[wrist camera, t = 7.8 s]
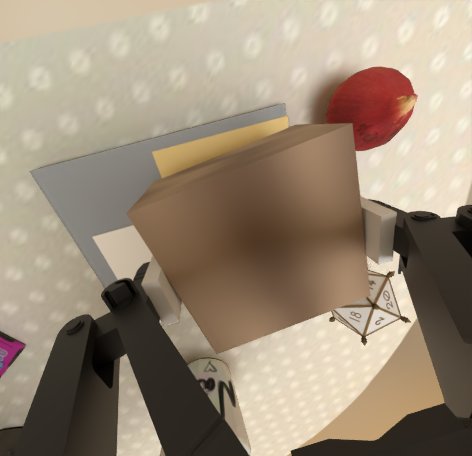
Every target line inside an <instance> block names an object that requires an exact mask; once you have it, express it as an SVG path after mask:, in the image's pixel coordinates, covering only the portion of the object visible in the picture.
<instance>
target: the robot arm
mask: <svg viewBox="0 0 472 456" xmlns="http://www.w3.org/2000/svg"><path fill="white" fill-rule="evenodd" d="M360 200H361V210H362V219H363V229H364V238H365V248H366V255H367V256H368V257H369V258H371V259H372V260H373V261H374V262H376V263H377V264H378V265H379V264H382V263H386V262H389V261H393V250H394V251H395V252H397V253H399V254H400V259H399V268H398V274H401V271H402V272H403V275H404V278H405V281H406V284H407V287H408V290H409V293H410V296H411V299H412V302H413V305H414V308H415V311H416V314H417V317H418V321H419V323H420V327H421V330H422V333H423V336H424V339H425V342H426V345H427V348H428V351H429V354H430V357H431V360H432V363H433V366H434V369H435V372H436V376H437V379H438V382H439V385H440V388H441V391H442V394H443V397H444V401H445V403H444V404H440V405H437V406H434V407H431V408H428V409H424V410H421V411H418V412H415V413H411V414H408V415H406V416H405V417H404V418H403V419H402V420H400V421H399V422H398V423H397V424H396V425H395V426H393V427H392V428H391V429H390V430H389V431H387V432H386V433H385V434H384V435H383V436H382V437H380V438H379V439H377V440H375V441H362V440H341V439H327V440H324V441H321V442H317V443H314V444H311V445H308V446H305V447H302V448H298V449H295V450H291V454H292V456H472V205H465V206H461V207H459V208H458V210H457V214H456V217H446V218H440V216H438V215H437V214H434V213H431V212H426V211H415V212H409V213H407V212H404V211H402V210H399V209H397V208H394V207H391V206H390V205H387V204H385V203H382V202H380V201H376V200H370V199H369V200H368V199H365V198H363V197H361V196H360ZM101 298H102V299H103V300H104V302H105V303H106V305H107V306H108V308H109V309H110V311H111V312H110V313H108V314H106V315H104V316H102V317H100V318H98V319H96V320H94V319H93V318H92V317H91V316H90V315H82V316H79V317H77V318H75V319H72V320H71V321H69V322H68V323H67V324H66V325H65V326H64V327H63V328H62V329H61V330H60V332H59V333H58V335H57V337H56V340H55V343H54V345H53V348H52V351H51V353H50V356H49V359H48V362H47V364H46V367H45V370H44V372H43V375H42V378H41V380H40V383H39V386H38V388H37V391H36V394H35V396H34V399H33V402H32V404H31V407H30V410H29V412H28V415H27V418H26V421H25V423H24V426H23V428H15V429H7V430H2V431H0V456H116V453H117V423H118V394H119V364H120V357H122V356H123V355H125V354H127V356H128V358H129V361H130V364H131V366H132V369H133V372H134V374H135V377H136V379H137V382H138V385H139V387H140V390H141V393H142V395H143V398H144V401H145V403H146V406H147V409H148V411H149V414H150V416H151V419H152V422H153V424H154V427H155V430H156V432H157V435H158V438H159V440H160V443H161V445H162V448H163V451H164V453H165V456H250V455H249V454H248V452H247V451H246V449H245V448H244V447H243V445H242V444H241V442H240V441H239V439H238V438H237V436H236V435H235V433H234V432H233V430H232V429H231V427H230V426H229V424H228V423H227V422H226V420H225V419H224V418H222V416H221V415H220V413H219V412H218V411H217V409H216V408H215V406H214V404H213V403H212V401H211V400H210V398H209V397H208V395H207V394H206V392H205V391H204V389H203V388H202V386H201V385H200V383H199V382H198V380H197V379H196V377H195V376H194V374H193V373H192V371H191V370H190V368H189V367H188V365H187V364H186V362H185V361H184V359H183V358H182V356H181V355H180V353H179V352H178V350H177V349H176V347H175V346H174V344H173V343H172V341H171V340H170V338H169V337H168V335H167V334H166V332H165V331H164V329H163V328H162V326H161V325H160V323H159V320H161V322H162V323H163V325H164V326H168V325H171V324H175V323H178V322H179V319H180V310H181V302H182V300H181V298H180V296H179V295H178V293H177V292H176V290H175V289H174V287H173V286H172V284H171V283H170V281H169V279H168V278H167V276H166V275H165V273H164V272H163V270H162V268H161V267H160V265H159V264H158V262H157V261H156V259H155V258H154V256H152V258H151V261H150V262H147V263H143V264H142V265H141V266H140V268H139V269H138V270H137V272H136V274H135V277H134V279H133V281H132V279H130V278H123V279H120V280H117V281H115V282H113V283H112V284H110V285H109V286H108V287H106V288H105V289H104V291H103V292H102V294H101Z"/></svg>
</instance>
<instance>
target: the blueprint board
mask: <svg viewBox="0 0 472 456" xmlns="http://www.w3.org/2000/svg"><path fill="white" fill-rule="evenodd" d="M287 128H289V123H288V116H286V109H285V103H283V104H280V105H276V106H272V107H268V108H265V109H261V110H257V111H253V112H250V113H246V114H242V115H238V116H235V117H231V118H227V119H223V120H219V121H216V122H212V123H208V124H204V125H201V126H197V127H193V128H189V129H186V130H182V131H178V132H174V133H171V134H167V135H163V136H159V137H156V138H152V139H148V140H144V141H141V142H137V143H133V144H129V145H126V146H122V147H118V148H114V149H111V150H107V151H103V152H99V153H95V154H92V155H88V156H84V157H80V158H77V159H73V160H69V161H65V162H62V163H58V164H54V165H50V166H47V167H43V168H39V169H35V170H32V171H30V173H31V174H32V176H33V178H34V179H35V181H36V182H37V184H38V185H39V187H40V188H41V190H42V191H43V193H44V195H45V196H46V198H47V199H48V201H49V202H50V204H51V205H52V207H53V209H54V210H55V212H56V213H57V215H58V216H59V218H60V219H61V221H62V222H63V224H64V226H65V227H66V229H67V230H68V232H69V233H70V235H71V236H72V238H73V239H74V241H75V243H76V244H77V246H78V247H79V249H80V250H81V252H82V253H83V255H84V257H85V258H86V260H87V261H88V263H89V264H90V266H91V267H92V269H93V270H94V272H95V274H96V275H97V277H98V278H99V280H100V281H101V283H102V284H103V286H104V287H105V288H106V287H108V286H109V285H110V284H112V283H113V282H115V281H117V280H120V279H123V278H130V279H132V281H133V279H134V277H135V274H136V272H137V270H138V269H139V268H140V266H141V265H142V264H143V263H147V262H150V261H151V258H152V256H153V255H152V253H151V251H150V250H149V248H148V247H147V245H146V244H145V242H144V241H143V239H142V238H141V236H140V234H139V233H138V231H137V230H136V228H135V227H134V225H133V224H132V222H131V220H130V219H129V217H128V216H127V214H126V213H127V212H128V211H129V210H130V209H131V208H132V206H133V205H134V204H135V203H136V202H137V201H138V200H139V198H140V197H141V196H142V195H143V194H144V193H145V192H146V191H147V189H148V188H149V187H150V186H151V185H152V184H153V183H154V182H155V181H157V180H160V179H162V178H165V177H167V176H170V175H172V174H175V173H177V172H180V171H182V170H185V169H187V168H190V167H192V166H195V165H197V164H200V163H202V162H204V161H207V160H209V159H212V158H214V157H217V156H219V155H222V154H224V153H227V152H229V151H232V150H234V149H237V148H239V147H242V146H244V145H247V144H249V143H252V142H254V141H257V140H259V139H262V138H264V137H267V136H269V135H272V134H274V133H277V132H279V131H282V130H284V129H287Z"/></svg>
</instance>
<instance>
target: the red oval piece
mask: <svg viewBox="0 0 472 456" xmlns="http://www.w3.org/2000/svg"><path fill="white" fill-rule="evenodd" d="M417 96H418V95H416V94H414V90H413V87H412V85H411V82H410V80H409V79H408V78H407V77H405V76H404V75H403V74H402V73H400V72H399V71H398V70H395V69H393V68H386V67H372V68H369V69H366V70H363V71H360V72H357V73H356V74H354V75H352V76H351V77H350V78H348V79H347V80H346V81H345V82H344V83H342V84H341V85H340V86H339V87H338V89H337V90H336V92H335V93H334V95H333V96H332V98H331V99H330V102H329V106H328V110H327V113H326V124H340V123H352V124H353V134H354V143H355V151H365V150H369V149H372V148H375V147H378V146H381V145H384V144H386V143H387V142H389V141H390V140H391V139H392V138H393V137H394V136H395V135H396V134H397V133H398V132H399V131H400V130H401V129H402V128H403V127H404V126H405V124H406V123H407V121H408V120H409V118H410V117H411V115H412V112H413V108H414V105H415V103H416V99H417Z"/></svg>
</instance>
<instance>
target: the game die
mask: <svg viewBox="0 0 472 456" xmlns="http://www.w3.org/2000/svg"><path fill="white" fill-rule="evenodd" d="M394 272H395V271H393V272H390V271H389V273H388V274H387V275H383V274H380V273H376V272H373V271H370V270H368V276H369V286H370V295H371V296H369V297H366V298H364V299H361V300H358V301H356V302H353V303H350V304H348V305H345V306H342V307H340V308H337V309H334V310H332V311H331V312H332V314H333V317H331V318H330V320H329V321H330V322H333V321H335V319H336V320H338V321H339V322H341V323H342V324H344V325H345V326H347V327H349V328H350V329H352V330H353V331H355V332H356V333H358V334H359V335H361V336H362V341H361V342H362V343H363V344H364V345H366V343H367V341H366V340H367V339H366V338H365V337H366V336H368V335H370V334H372V333H373V332H375V331H377V330H379V329H381V328H383V327H385V326H387V325H389V324H391V323H393V322H395V321H397V320H399V319H401V320H402V321H404V322H405V323H406V322H411V321H410V320H409V319H408V318H406V317H405V316H404V317H403V316H401V314H400V311H399V308H398V304H397V301H396V298H395V295H394V292H393V289H392V286H391V282H390V279H389V277H392V276H394Z"/></svg>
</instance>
